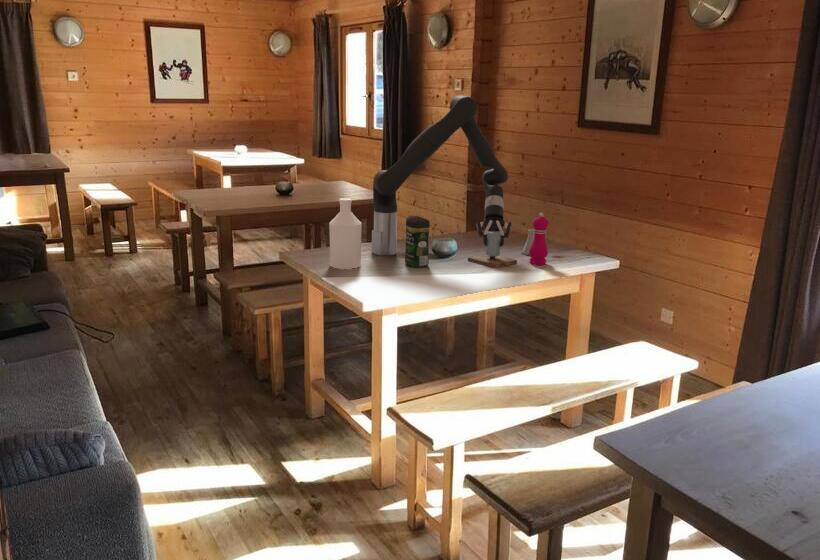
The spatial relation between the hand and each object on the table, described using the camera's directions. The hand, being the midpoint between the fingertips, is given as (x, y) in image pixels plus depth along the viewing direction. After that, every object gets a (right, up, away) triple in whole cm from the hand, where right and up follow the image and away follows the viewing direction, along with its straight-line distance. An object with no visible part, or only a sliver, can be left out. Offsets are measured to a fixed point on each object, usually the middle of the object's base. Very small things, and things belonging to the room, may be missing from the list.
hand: (493, 245), depth 261 cm
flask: (+18, -3, +19) cm, 26 cm away
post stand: (0, -6, +4) cm, 7 cm away
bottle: (-56, -8, -9) cm, 58 cm away
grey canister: (0, -4, +3) cm, 5 cm away
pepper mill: (+18, -7, +3) cm, 19 cm away
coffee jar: (-30, -8, -4) cm, 31 cm away
